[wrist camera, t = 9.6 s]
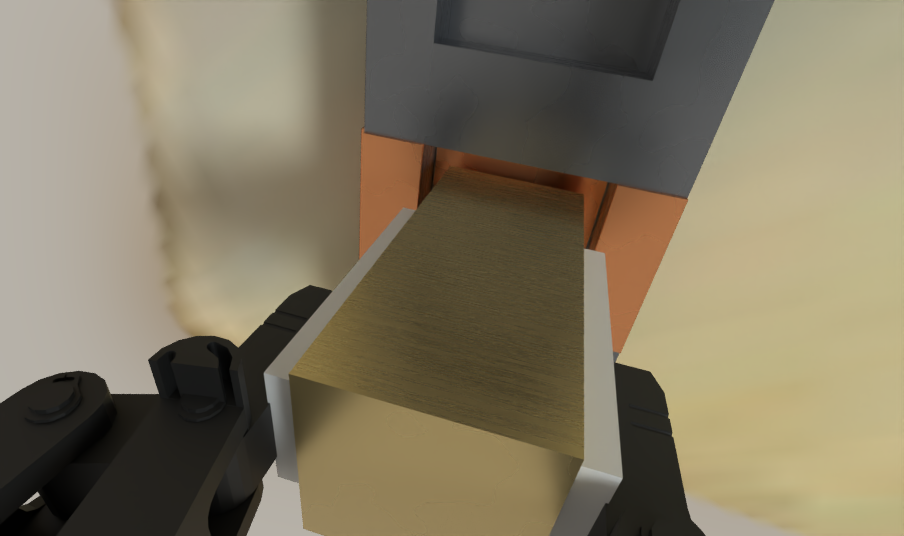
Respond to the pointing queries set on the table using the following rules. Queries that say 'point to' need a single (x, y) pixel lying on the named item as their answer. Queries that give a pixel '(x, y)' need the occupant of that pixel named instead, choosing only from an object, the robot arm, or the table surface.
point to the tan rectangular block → (452, 372)
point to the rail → (555, 111)
